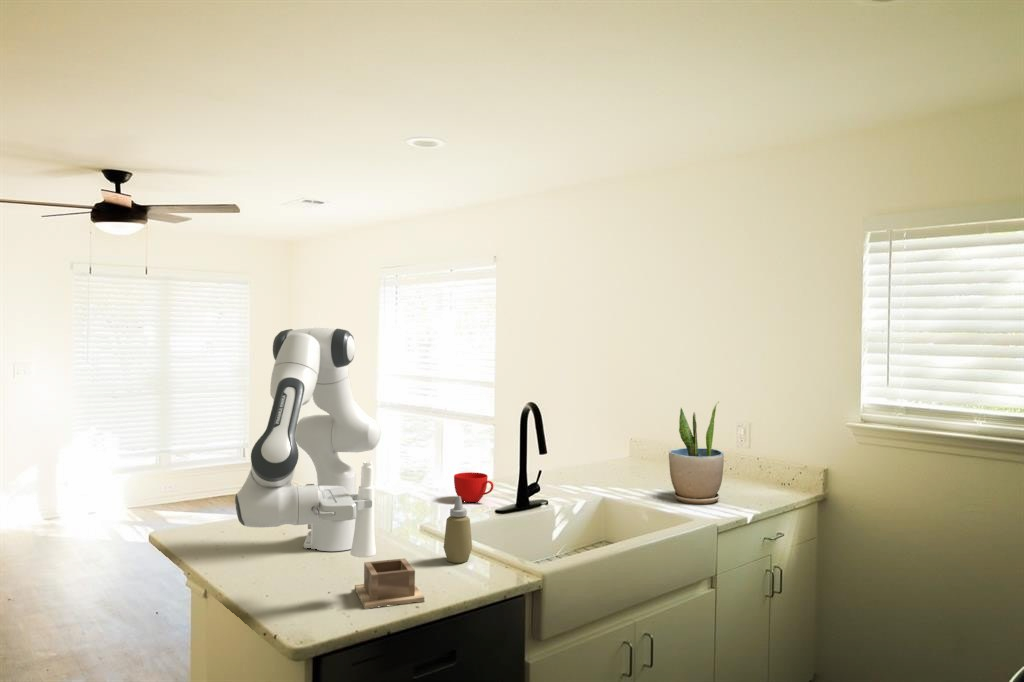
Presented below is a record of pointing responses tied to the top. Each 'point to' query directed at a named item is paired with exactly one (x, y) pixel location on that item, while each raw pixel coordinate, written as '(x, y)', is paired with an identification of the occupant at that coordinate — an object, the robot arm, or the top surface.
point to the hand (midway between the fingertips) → (369, 500)
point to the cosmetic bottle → (365, 516)
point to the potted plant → (696, 465)
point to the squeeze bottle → (458, 534)
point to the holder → (388, 584)
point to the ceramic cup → (471, 486)
